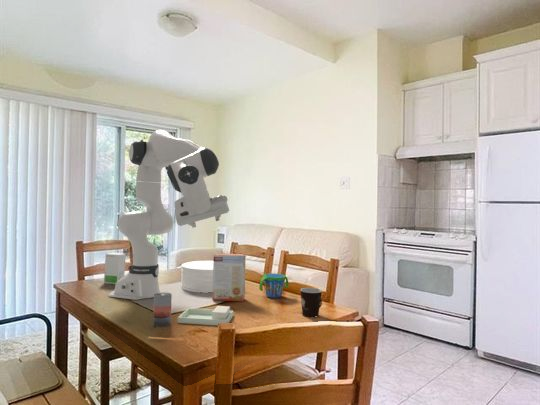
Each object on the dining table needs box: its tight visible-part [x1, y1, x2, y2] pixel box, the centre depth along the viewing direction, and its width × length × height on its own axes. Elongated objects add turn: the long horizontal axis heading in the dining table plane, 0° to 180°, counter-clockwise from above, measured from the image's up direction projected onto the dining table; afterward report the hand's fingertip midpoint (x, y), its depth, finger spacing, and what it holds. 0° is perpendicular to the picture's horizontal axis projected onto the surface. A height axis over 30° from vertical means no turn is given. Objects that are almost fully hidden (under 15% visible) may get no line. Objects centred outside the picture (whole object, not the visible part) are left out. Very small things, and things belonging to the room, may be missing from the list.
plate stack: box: [180, 260, 214, 294], centre depth 193 cm, size 28×28×12 cm
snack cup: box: [259, 273, 289, 299], centre depth 175 cm, size 16×10×10 cm
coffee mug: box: [300, 287, 323, 318], centre depth 146 cm, size 12×9×10 cm
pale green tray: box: [177, 307, 234, 326], centre depth 136 cm, size 18×12×2 cm, turn 85°
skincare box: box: [103, 251, 126, 285], centre depth 194 cm, size 8×7×16 cm
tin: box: [152, 292, 173, 329], centre depth 130 cm, size 6×6×11 cm
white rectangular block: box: [212, 305, 231, 320], centre depth 136 cm, size 5×8×4 cm, turn 175°
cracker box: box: [212, 252, 247, 303], centre depth 167 cm, size 14×6×21 cm, turn 84°
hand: (205, 222), depth 144 cm, fingers open, 8 cm apart
